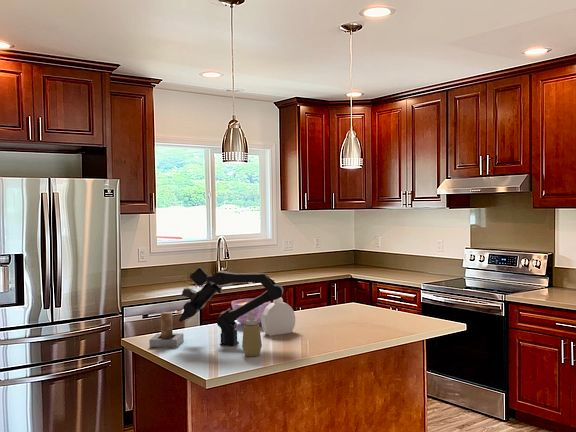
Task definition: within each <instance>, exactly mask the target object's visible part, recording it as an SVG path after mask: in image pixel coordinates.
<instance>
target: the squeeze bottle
mask: <svg viewBox="0 0 576 432" xmlns="http://www.w3.org/2000/svg"><path fill="white" fill-rule="evenodd" d="M242 329H243V330H242V341H241V342H242V344H241V347H242V351H243V354H244V356H246V357H250V358H251V357H253V358H254V357H258V356H260V353H261V350H262V346H263V344H262V337H261V328H260V324H259V325H257V320H256V319H254V315H253V311H250V313H249V318H248V320H246V325H243V328H242Z"/></svg>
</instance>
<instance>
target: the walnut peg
mask: <svg viewBox="0 0 576 432" xmlns="http://www.w3.org/2000/svg"><path fill="white" fill-rule="evenodd" d="M160 334H161V338H173V312H172V311H163V312H160Z"/></svg>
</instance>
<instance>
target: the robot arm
mask: <svg viewBox="0 0 576 432" xmlns="http://www.w3.org/2000/svg"><path fill="white" fill-rule="evenodd" d="M188 278H189V280H191V281H192V282H193V284H195V285H196V286H197V287H202V288H201V289H199V290H198V291H196V290H194V289H192V288H190V287H188V286H186V287H184V288H183V290H182V293H181V296H183V297H186V298H188V299H189V301H186V302H185V304H183V312H182V314H181V315H180V317H179V319H178V322H180V323H182V322H183V321H186V320H189V319H190V318H192V317H194V316H195V315H196V314H198V313H199V312H200V311H201V310H202V309H203V308H205V306H206V304H207V302H208V301H210V299H211V298H212V297H214V295H215V294H216V293H218V294H219V295H221V294H222V293H223V289H222V288H223V287H222V286H224V285H229V284H234V283H260V284H261V285H262V286H263V288H265V290H266V291H264V292H263V293H262V294H259V295H258V296H256V297H255V298H252V299H253V300H251V301H249V302H248V303H246V304H244V305H242V306H240V307H239V308H237V309H235V310H233V309H231V307H229V308H227V310H222V312H221V313H220V314H219V316H218V318H217V319H216V325H217V326H218V327H219V328H220V329H221V331H220V332H221V333H220V342H219V346H227V347H228V346H229V347H233V346H235V345H238V344H240V342H239V341H238V329H236V328H237V325H238V322H236V321H237V320H236V319H237V318H239V317H240V316H242V315H244V314H246V313H248V312H249V311H251V310H253V309H255V308H257V307H258V306H260V305H262V304H264V303H266V302H269V301H270V302H273V300H276V299H279V298H280V297H281V298H282V295H283V293H284V287H283V286H282V285H281V284H279V283H276V282H275V281H274V280H273V279H272V278H271V277H269V276H268V275H267V273H265V272H261V273H255V272H254V273H253V272H252V273H251V272H250V273H249V272H247V273H244V272H243V273H237V272H232V271H227V270H226V271H225V270H220V271H217V272H216V273H214V274H208V273H207V272H205V270H204V269H203V268H202V267H200V266H199V267H198V268H197V269H196V270H195V271H194V272H192V274H190V276H189V277H188Z"/></svg>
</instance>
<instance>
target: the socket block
mask: <svg viewBox="0 0 576 432" xmlns="http://www.w3.org/2000/svg"><path fill="white" fill-rule="evenodd" d="M184 336H185V335H184V333H177V332H176V333H173V338H161V333H156V334H155V335H154V336H152V337H151V338H150V339H149V342H148V343H149V348H150V347H157V348H156V349H163V348H164V347H168V348H167V349H169V348H170V347H177V348H178V347H180V345H181V344H183V342H185V341H184ZM161 347H163V348H161ZM164 349H165V348H164Z"/></svg>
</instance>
